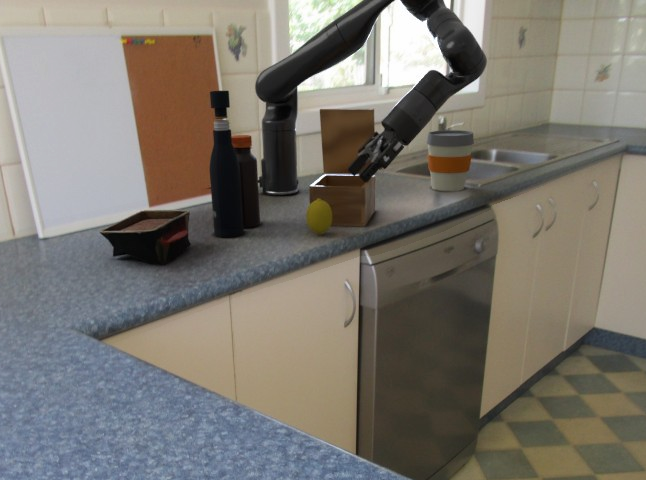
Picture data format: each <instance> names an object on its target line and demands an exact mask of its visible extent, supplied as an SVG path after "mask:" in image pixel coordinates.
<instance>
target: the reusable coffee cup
mask: <svg viewBox="0 0 646 480" xmlns="http://www.w3.org/2000/svg"><path fill="white" fill-rule="evenodd" d="M426 139H427V140H426V144H427V147H428V148H427V149H428V153H427V154H426V155H427V166H428V171H429V173H430V185H431V189H432V190H434V191H440V192H442V191H443V192H458V191H462V190H464V189H465V186H466V180H467V177H468V172H469V171H470V168H471V163H472V157H473V153H472V148H473V145H474V143H475V141H474V140H475V138H474V132H473V131H469V130H459V129H457V130H456V129H447V130H446V129H443V130H433V131H429V132H427V138H426Z"/></svg>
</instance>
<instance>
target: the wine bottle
mask: <svg viewBox="0 0 646 480" xmlns="http://www.w3.org/2000/svg"><path fill="white" fill-rule="evenodd" d="M209 100H210V109H214V119H215V120H214V121H213V130H212V135H213V137H212V138H213V146H212V150H211V154H210V158H209V181H210V182H209V184H211V187H210V193H211V194H210V195H211V206H212V220H213V230H214V231H213V233H214V236H215V237H217V238H223V239H225V238H226V239H228V238H229V239H230V238H237V237H241V236H242V235H244V233H245V232H244V229H245V228H243V213H242V196H241V180H240V166H239V162H238V158H237V155H236V152H235V149H234V147H233V144H232V137H231V136H232V129H230V127H231V126H230V124H231V123H230V121H229V119H227V118H228V109H229V108H230V107H231V105H230V91H229V90H211V91H209Z"/></svg>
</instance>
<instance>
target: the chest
mask: <svg viewBox="0 0 646 480" xmlns="http://www.w3.org/2000/svg"><path fill="white" fill-rule="evenodd" d="M308 187H309V189H308V190H309V192H308V193H309V205H310V204H311V203H312V202H313V201H316V200H317V199H321V200H323V201H325V202H327V203H328V204H329V206H330V208H331V211H332V224H331V226H340V227H341V226H342V227H343V226H344V227H366V226H367V224H368V222H369V221H370V220H371V218H372V217H373V215H374V213H375V212H376V175H375V174H374V175H373V176H372V177H371V179H370V180H369V181H368V182H366V183H365V182H364V181H362V180H361V179H360V178H359V174H356V175H355V176H354V175H352V174H329V173H323V175H322V176H320V177H319V178H317V180H315V181H314V182H313V183H312V184H310V185H309V186H308Z"/></svg>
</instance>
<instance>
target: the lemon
mask: <svg viewBox="0 0 646 480" xmlns="http://www.w3.org/2000/svg"><path fill="white" fill-rule="evenodd" d="M305 217H306V219H305V221H306V224H307V226H308V228H309V229H310V230H311V232H314V233H316V234H317V235H318V236H322V235H323V234H324V233H325V232H327V231H328V230H329V229H330V228H331V226H332V225H331V224H332V211H331V208H330V206H329V204H328V203H327V202H325V201H323V200H321V199H317V200H316V201H313V202H312V203H311V204H310V203H309V205H308V207H307V209H306V216H305Z"/></svg>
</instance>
